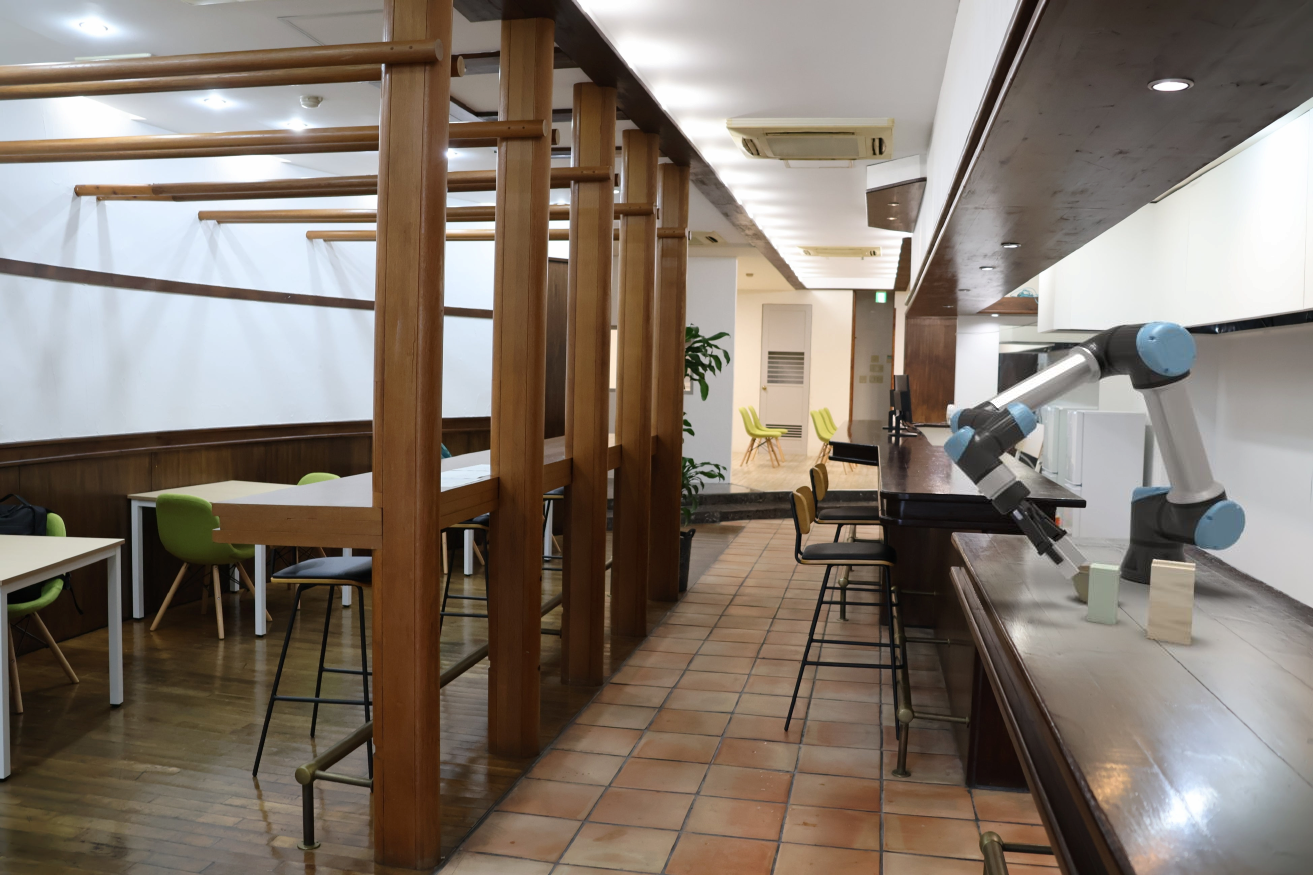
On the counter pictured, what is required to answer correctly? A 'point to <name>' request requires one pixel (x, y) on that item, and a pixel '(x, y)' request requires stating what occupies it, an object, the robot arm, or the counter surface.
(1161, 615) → the tower base
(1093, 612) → the sage block
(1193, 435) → the robot arm
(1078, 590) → the flower pot
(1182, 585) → the tower top
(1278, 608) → the counter surface
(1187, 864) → the counter surface
